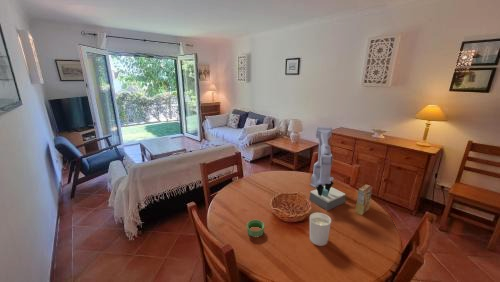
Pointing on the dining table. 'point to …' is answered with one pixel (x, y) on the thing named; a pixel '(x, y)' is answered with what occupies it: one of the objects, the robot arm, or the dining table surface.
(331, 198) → the lid
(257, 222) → the green ring
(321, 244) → the candle holder
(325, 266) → the dining table surface
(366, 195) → the candy box
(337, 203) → the grey open box
